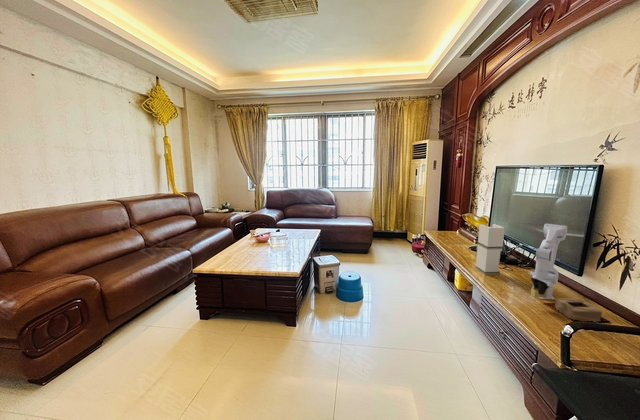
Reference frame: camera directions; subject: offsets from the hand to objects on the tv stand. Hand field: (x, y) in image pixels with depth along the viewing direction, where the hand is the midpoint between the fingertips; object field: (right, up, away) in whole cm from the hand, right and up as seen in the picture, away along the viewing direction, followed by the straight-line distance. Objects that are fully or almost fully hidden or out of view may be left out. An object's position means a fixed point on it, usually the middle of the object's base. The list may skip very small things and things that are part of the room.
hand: (539, 292), depth 140 cm
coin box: (+13, -9, -7) cm, 18 cm away
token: (0, -2, 0) cm, 2 cm away
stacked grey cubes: (+3, 0, +48) cm, 48 cm away
